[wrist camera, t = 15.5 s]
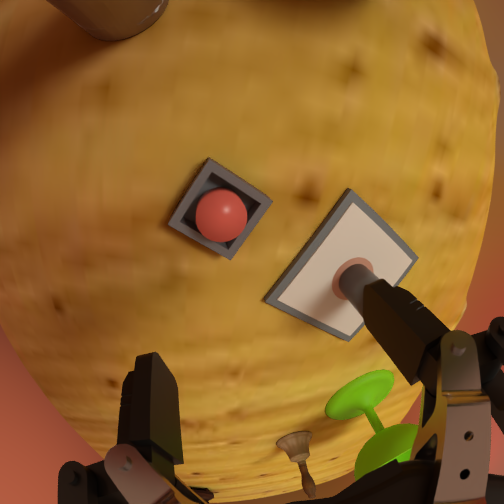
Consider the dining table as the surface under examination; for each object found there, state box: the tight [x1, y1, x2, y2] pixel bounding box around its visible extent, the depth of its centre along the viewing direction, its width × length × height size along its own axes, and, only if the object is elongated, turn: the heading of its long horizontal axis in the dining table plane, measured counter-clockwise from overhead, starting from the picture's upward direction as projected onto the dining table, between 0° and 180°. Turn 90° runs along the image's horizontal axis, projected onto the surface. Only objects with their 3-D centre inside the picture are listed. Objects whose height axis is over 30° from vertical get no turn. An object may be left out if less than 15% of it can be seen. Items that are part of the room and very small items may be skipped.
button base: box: [168, 158, 273, 260], centre depth 26 cm, size 7×7×2 cm
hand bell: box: [276, 431, 316, 498], centre depth 44 cm, size 8×8×16 cm
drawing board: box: [264, 188, 418, 342], centre depth 33 cm, size 16×16×1 cm
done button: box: [196, 187, 247, 242], centre depth 24 cm, size 4×4×2 cm
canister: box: [339, 264, 379, 318], centre depth 28 cm, size 4×4×11 cm
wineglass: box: [325, 370, 418, 481], centre depth 39 cm, size 16×16×18 cm
